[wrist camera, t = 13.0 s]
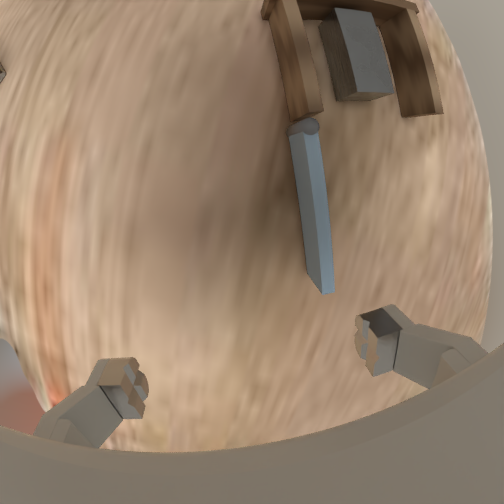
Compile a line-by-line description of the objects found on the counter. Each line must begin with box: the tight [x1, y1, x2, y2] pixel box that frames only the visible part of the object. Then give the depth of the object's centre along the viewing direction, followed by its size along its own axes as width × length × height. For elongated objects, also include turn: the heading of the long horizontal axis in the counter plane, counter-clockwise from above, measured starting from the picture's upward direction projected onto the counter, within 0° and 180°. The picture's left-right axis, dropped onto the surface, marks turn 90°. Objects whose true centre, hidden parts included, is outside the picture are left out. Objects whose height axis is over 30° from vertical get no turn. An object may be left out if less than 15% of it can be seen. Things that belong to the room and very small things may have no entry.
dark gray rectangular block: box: [318, 8, 394, 101], centre depth 20 cm, size 9×4×5 cm, turn 10°
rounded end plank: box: [286, 117, 335, 295], centre depth 24 cm, size 1×15×6 cm, turn 10°
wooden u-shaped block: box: [261, 0, 444, 122], centre depth 20 cm, size 13×16×6 cm
